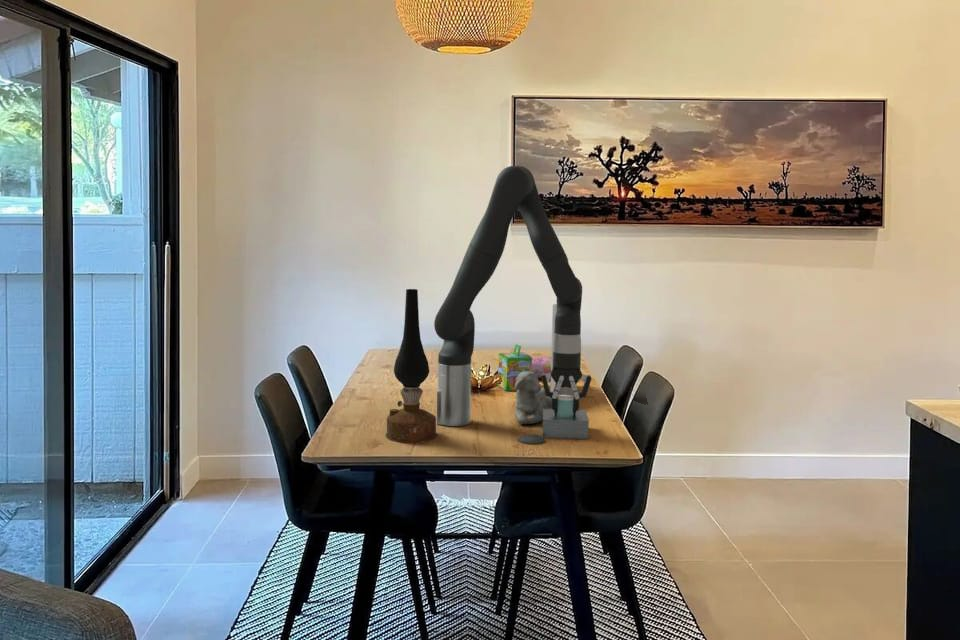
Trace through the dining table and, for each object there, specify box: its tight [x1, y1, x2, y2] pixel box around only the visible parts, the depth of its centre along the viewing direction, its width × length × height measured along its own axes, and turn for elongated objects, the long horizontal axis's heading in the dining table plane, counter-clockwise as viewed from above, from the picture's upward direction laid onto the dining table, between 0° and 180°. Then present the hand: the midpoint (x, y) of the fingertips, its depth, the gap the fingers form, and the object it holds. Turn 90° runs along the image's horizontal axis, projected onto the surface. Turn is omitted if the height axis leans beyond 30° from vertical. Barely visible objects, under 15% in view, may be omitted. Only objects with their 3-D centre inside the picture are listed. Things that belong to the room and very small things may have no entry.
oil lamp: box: [385, 288, 438, 444], centre depth 224 cm, size 14×15×40 cm
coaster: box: [517, 434, 546, 445], centre depth 223 cm, size 7×7×1 cm
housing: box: [541, 409, 590, 440], centre depth 231 cm, size 12×12×5 cm
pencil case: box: [531, 355, 551, 380], centre depth 302 cm, size 21×9×9 cm, turn 100°
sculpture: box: [514, 371, 552, 425], centre depth 246 cm, size 11×21×15 cm, turn 167°
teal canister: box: [557, 395, 574, 417], centre depth 231 cm, size 5×5×10 cm
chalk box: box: [497, 344, 533, 392], centre depth 286 cm, size 9×9×15 cm
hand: (565, 411), depth 231 cm, fingers closed on teal canister, 4 cm apart
